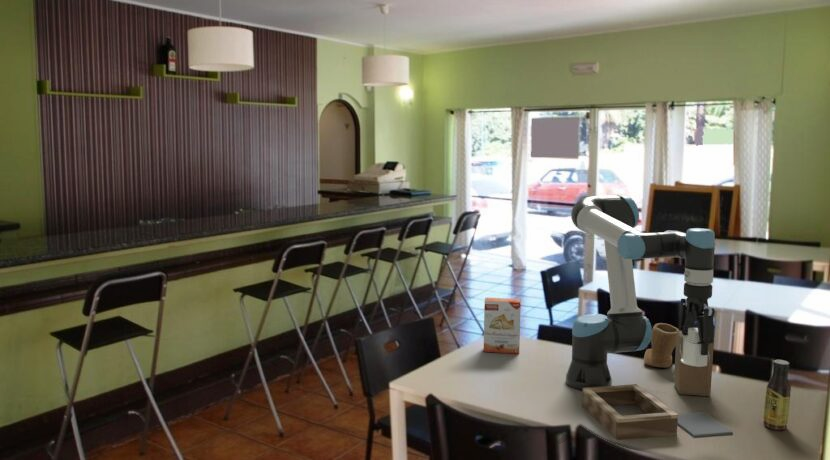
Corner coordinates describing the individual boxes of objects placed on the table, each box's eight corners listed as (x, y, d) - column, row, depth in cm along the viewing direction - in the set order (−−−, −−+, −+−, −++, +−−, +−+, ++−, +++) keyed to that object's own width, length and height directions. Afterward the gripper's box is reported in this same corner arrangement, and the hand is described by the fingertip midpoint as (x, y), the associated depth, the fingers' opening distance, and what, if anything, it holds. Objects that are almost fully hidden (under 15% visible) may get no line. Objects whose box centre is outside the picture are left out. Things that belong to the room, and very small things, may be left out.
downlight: (678, 364, 194) (681, 330, 193) (679, 357, 200) (682, 324, 199) (708, 369, 191) (712, 335, 189) (708, 362, 197) (712, 328, 196)
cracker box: (483, 352, 265) (483, 300, 262) (484, 348, 271) (484, 296, 268) (519, 354, 262) (520, 301, 259) (519, 349, 268) (520, 298, 265)
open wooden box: (582, 406, 212) (582, 387, 211) (635, 402, 215) (636, 384, 214) (617, 439, 189) (618, 419, 188) (676, 434, 192) (677, 414, 191)
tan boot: (676, 372, 243) (678, 331, 240) (641, 367, 247) (643, 327, 245) (678, 359, 256) (680, 320, 254) (645, 355, 261) (647, 317, 259)
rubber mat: (667, 416, 204) (667, 414, 204) (703, 413, 206) (704, 412, 206) (693, 436, 190) (693, 434, 190) (732, 433, 192) (732, 431, 192)
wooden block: (711, 397, 219) (714, 337, 216) (678, 395, 221) (681, 335, 218) (704, 386, 229) (707, 328, 226) (673, 384, 231) (676, 327, 228)
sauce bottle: (758, 422, 200) (763, 357, 197) (778, 421, 200) (783, 357, 198) (771, 432, 193) (776, 365, 191) (792, 431, 194) (797, 364, 191)
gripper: (668, 276, 202) (664, 351, 205) (705, 290, 182) (701, 373, 185) (691, 275, 203) (688, 350, 206) (731, 290, 183) (726, 371, 186)
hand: (694, 361), depth 196 cm, fingers closed on downlight, 7 cm apart
